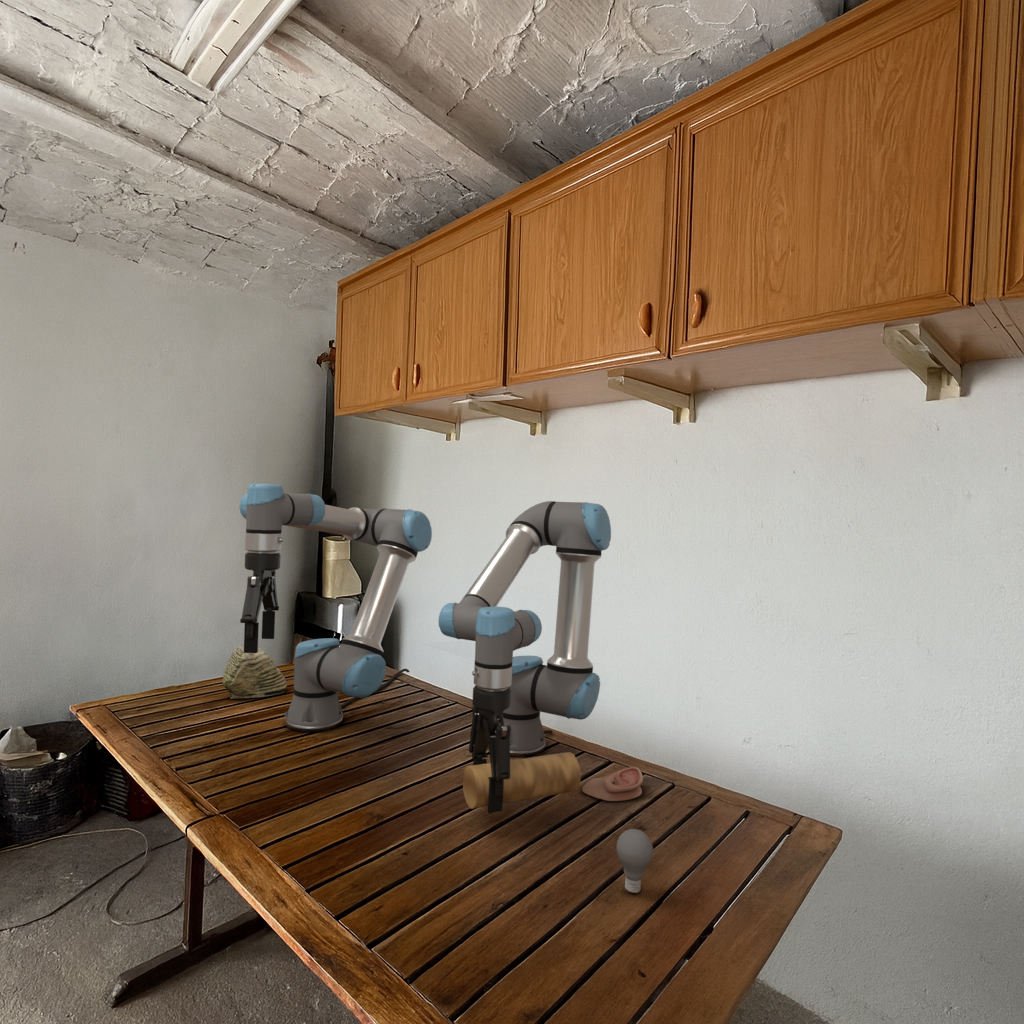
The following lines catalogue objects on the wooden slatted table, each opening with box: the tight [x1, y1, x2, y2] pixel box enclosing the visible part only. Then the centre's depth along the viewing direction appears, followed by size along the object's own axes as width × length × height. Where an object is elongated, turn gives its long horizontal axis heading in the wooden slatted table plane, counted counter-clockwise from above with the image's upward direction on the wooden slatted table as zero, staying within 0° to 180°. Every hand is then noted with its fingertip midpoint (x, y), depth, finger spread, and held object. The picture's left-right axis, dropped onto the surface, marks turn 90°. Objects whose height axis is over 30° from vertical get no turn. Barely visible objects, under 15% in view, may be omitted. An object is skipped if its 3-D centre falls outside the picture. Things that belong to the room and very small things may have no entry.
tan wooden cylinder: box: [462, 751, 582, 810], centre depth 128 cm, size 23×8×8 cm, turn 115°
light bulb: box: [615, 828, 654, 894], centre depth 106 cm, size 6×6×10 cm
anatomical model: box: [581, 766, 644, 802], centre depth 142 cm, size 13×4×12 cm
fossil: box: [222, 646, 288, 699], centre depth 198 cm, size 9×18×15 cm, turn 132°
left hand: (259, 645), depth 143 cm, fingers open, 13 cm apart
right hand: (486, 801), depth 125 cm, fingers closed on tan wooden cylinder, 8 cm apart
